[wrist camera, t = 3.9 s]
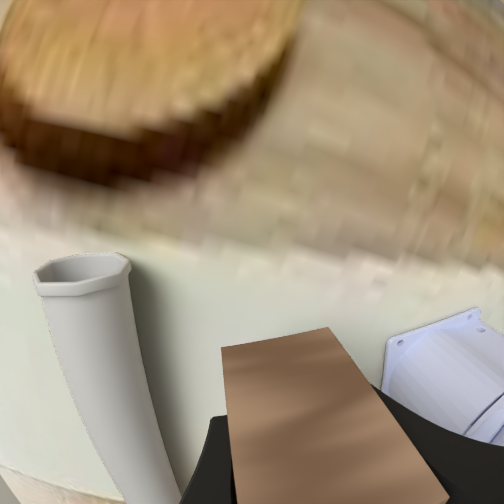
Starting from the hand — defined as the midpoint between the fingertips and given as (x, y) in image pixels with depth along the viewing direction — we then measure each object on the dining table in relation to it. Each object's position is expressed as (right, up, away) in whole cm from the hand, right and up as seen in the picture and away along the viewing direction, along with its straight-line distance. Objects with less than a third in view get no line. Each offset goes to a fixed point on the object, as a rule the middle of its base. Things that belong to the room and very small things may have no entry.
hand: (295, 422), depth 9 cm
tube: (-10, -6, +10) cm, 16 cm away
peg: (0, +1, +2) cm, 2 cm away
